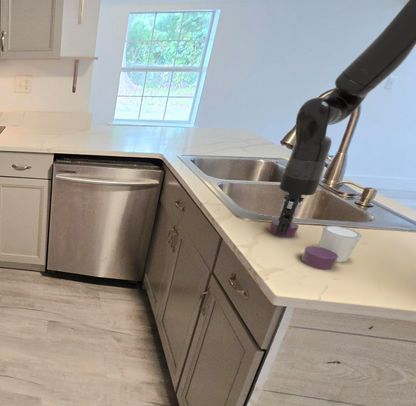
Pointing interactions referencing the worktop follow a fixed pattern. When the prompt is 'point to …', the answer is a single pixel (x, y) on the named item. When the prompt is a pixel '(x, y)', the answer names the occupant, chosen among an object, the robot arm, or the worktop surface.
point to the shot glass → (339, 241)
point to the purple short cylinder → (319, 257)
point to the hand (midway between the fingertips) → (283, 228)
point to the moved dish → (290, 232)
